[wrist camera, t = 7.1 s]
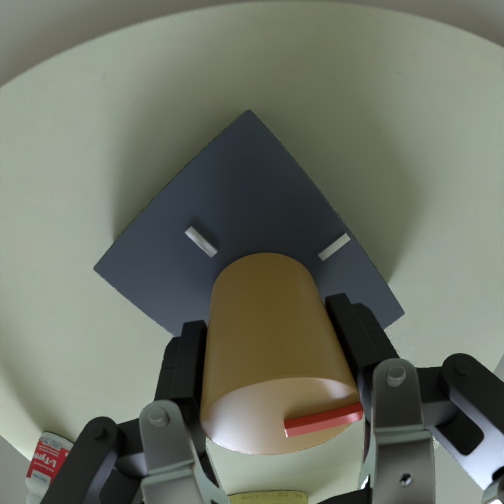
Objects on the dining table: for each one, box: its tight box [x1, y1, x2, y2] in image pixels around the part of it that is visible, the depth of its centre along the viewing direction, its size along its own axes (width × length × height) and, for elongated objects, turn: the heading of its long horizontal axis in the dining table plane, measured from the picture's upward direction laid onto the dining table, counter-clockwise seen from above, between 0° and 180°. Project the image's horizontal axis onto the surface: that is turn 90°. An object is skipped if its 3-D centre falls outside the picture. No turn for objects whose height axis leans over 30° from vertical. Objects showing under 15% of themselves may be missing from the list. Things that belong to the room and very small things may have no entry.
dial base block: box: [93, 109, 405, 337], centre depth 13 cm, size 12×9×3 cm
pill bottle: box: [25, 432, 74, 504], centre depth 20 cm, size 6×6×11 cm
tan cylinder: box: [200, 253, 364, 455], centre depth 9 cm, size 4×4×6 cm
